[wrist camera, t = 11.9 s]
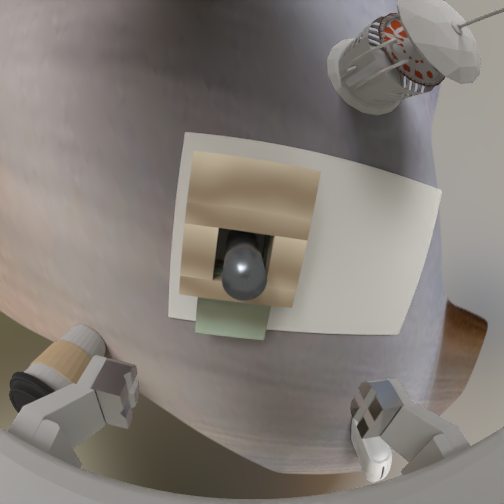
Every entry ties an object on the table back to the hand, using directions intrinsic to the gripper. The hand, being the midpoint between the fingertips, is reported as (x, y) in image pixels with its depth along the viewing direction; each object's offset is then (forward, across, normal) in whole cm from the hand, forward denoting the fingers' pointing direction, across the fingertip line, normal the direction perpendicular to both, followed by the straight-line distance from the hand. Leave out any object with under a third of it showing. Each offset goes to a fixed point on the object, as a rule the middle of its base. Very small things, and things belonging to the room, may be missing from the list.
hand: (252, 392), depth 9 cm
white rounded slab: (+20, -26, +31) cm, 46 cm away
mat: (+21, -8, 0) cm, 22 cm away
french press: (+21, -10, -20) cm, 31 cm away
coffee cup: (+21, +19, +17) cm, 33 cm away
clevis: (+20, 0, 0) cm, 20 cm away
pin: (+20, 0, 0) cm, 20 cm away
